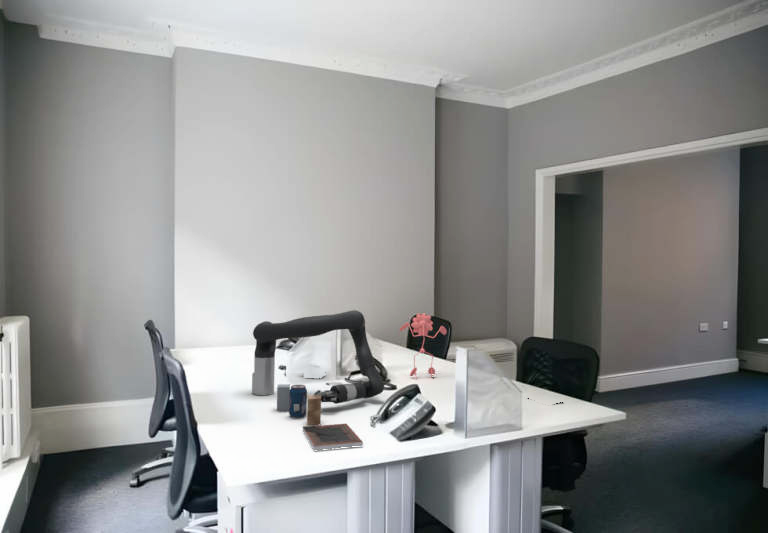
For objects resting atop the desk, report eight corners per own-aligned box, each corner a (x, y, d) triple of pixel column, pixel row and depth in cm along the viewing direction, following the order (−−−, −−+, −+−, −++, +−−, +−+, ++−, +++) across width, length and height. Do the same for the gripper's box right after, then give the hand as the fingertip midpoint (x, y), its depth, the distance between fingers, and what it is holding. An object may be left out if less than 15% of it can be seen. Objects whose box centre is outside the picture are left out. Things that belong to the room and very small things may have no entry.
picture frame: (302, 433, 197) (314, 453, 177) (302, 426, 197) (314, 445, 177) (346, 429, 203) (362, 448, 182) (346, 422, 203) (362, 441, 182)
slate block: (276, 411, 222) (277, 387, 222) (277, 408, 227) (277, 384, 227) (289, 411, 223) (289, 387, 223) (289, 408, 228) (289, 384, 228)
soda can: (290, 413, 220) (291, 383, 220) (307, 413, 220) (308, 384, 220) (287, 418, 213) (288, 387, 213) (304, 418, 213) (305, 388, 213)
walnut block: (307, 425, 205) (307, 398, 205) (307, 421, 210) (307, 395, 210) (320, 424, 206) (321, 398, 206) (320, 421, 211) (320, 395, 210)
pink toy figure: (448, 379, 291) (448, 314, 291) (401, 380, 286) (402, 314, 286) (439, 373, 306) (440, 311, 306) (394, 375, 301) (395, 312, 301)
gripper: (334, 381, 236) (300, 387, 225) (352, 387, 226) (317, 393, 214) (334, 398, 236) (299, 405, 225) (352, 405, 226) (317, 412, 215)
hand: (308, 399), depth 220 cm, fingers closed
